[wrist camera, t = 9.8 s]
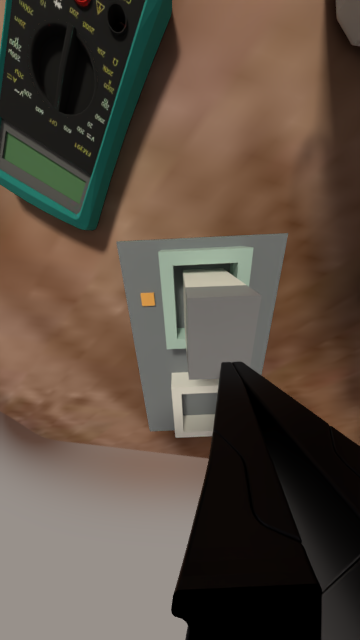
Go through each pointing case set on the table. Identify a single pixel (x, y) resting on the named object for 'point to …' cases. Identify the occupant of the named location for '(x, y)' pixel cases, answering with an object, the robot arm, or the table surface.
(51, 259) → the table surface
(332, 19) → the table surface
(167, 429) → the panel board
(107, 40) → the digital multimeter
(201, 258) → the port
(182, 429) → the frame
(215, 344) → the plug
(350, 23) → the water bottle
